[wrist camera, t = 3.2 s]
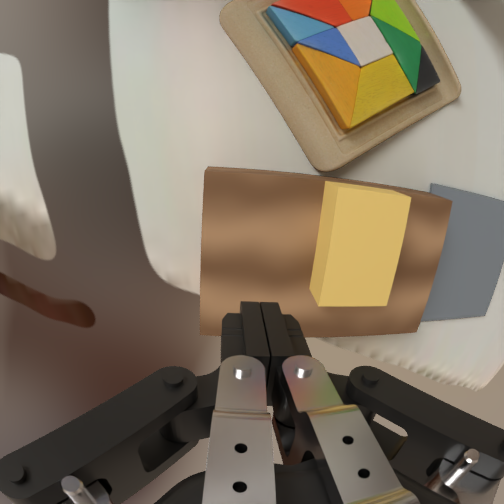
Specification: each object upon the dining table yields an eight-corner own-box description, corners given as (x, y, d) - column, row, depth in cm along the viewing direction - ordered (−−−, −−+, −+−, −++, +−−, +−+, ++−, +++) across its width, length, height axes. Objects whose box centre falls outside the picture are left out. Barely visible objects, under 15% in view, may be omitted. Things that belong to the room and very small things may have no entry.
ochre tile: (325, 180, 23) (338, 186, 20) (392, 190, 24) (411, 197, 21) (309, 288, 26) (318, 306, 23) (372, 289, 27) (386, 306, 24)
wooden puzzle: (455, 97, 25) (475, 96, 22) (316, 176, 27) (327, 181, 24) (373, -39, 19) (387, -52, 16) (213, 18, 22) (211, 2, 18)
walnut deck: (208, 166, 26) (204, 171, 22) (429, 192, 28) (452, 201, 24) (202, 311, 31) (199, 334, 27) (400, 313, 33) (416, 332, 29)
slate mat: (430, 183, 28) (433, 183, 27) (514, 204, 29) (516, 205, 29) (397, 320, 33) (399, 322, 33) (483, 314, 35) (485, 315, 34)
